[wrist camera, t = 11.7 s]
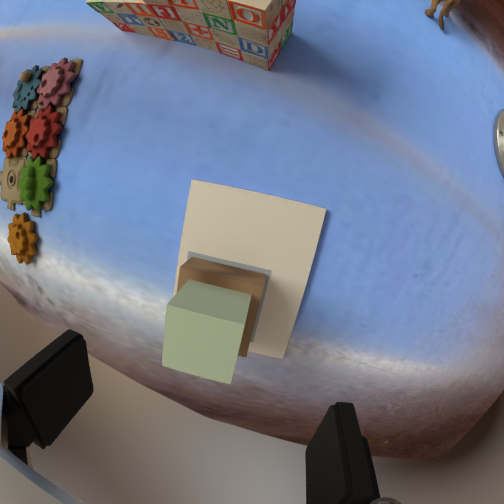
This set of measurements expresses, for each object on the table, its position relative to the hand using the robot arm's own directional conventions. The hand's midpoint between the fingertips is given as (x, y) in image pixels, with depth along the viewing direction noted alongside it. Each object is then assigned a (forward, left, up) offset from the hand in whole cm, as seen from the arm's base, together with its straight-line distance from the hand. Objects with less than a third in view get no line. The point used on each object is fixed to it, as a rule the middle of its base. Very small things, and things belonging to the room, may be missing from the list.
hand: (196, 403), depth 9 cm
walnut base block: (+2, +5, -21) cm, 22 cm away
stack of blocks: (+12, -26, -22) cm, 36 cm away
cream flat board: (+1, +2, -22) cm, 22 cm away
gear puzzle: (+35, -6, -23) cm, 42 cm away
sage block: (+2, +5, -17) cm, 18 cm away
